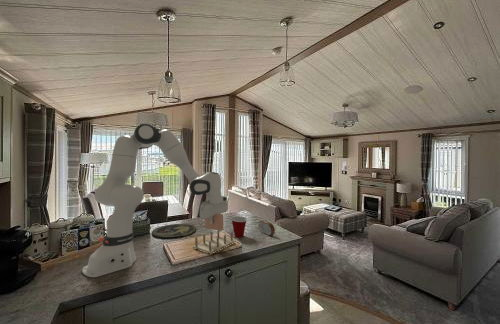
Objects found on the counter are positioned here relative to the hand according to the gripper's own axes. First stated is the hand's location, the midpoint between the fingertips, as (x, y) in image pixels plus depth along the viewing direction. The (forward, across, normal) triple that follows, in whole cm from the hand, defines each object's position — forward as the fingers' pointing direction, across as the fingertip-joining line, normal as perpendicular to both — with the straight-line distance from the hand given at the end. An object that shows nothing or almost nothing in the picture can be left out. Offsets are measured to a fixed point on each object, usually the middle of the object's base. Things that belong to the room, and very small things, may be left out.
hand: (214, 222), depth 135 cm
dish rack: (+14, -1, 0) cm, 14 cm away
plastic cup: (+14, +20, -3) cm, 25 cm away
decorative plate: (+14, +3, +42) cm, 44 cm away
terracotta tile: (+4, 0, 0) cm, 4 cm away
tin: (+14, +34, -15) cm, 40 cm away
